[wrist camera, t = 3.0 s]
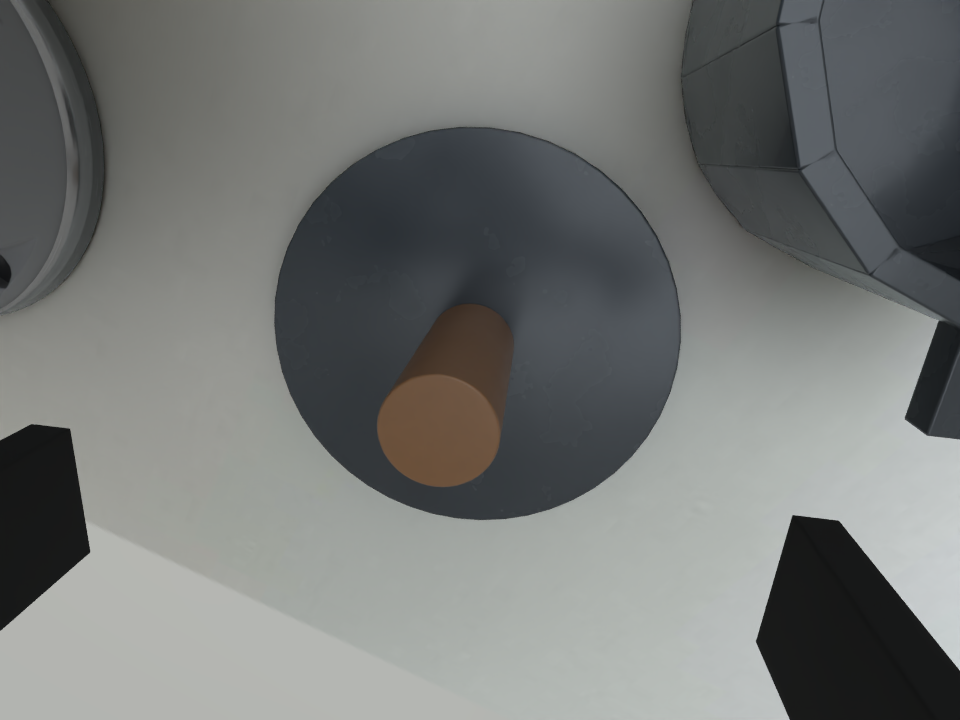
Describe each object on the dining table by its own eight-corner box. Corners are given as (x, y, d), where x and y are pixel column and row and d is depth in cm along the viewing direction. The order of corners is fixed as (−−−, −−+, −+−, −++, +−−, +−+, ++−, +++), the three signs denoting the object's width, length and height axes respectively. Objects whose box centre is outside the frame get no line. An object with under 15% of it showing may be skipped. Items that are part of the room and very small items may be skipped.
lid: (290, 481, 27) (177, 626, 18) (281, 110, 22) (120, 83, 13) (637, 525, 26) (681, 701, 17) (713, 148, 20) (825, 144, 12)
